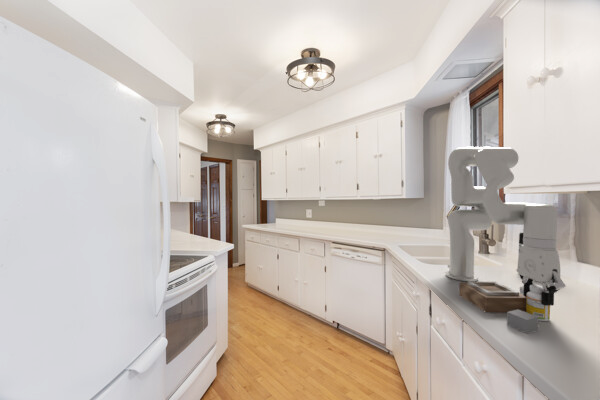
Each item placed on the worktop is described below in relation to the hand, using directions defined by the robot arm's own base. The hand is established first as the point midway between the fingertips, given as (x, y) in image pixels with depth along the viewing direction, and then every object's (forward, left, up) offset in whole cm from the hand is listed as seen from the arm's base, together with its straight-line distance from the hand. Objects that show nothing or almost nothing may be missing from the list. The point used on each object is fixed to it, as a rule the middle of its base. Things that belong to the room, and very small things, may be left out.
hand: (538, 300), depth 79 cm
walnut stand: (-10, -7, -5) cm, 13 cm away
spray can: (-42, +34, -6) cm, 54 cm away
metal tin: (-16, +12, -6) cm, 21 cm away
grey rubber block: (+6, -10, -6) cm, 13 cm away
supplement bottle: (0, 0, -6) cm, 6 cm away
